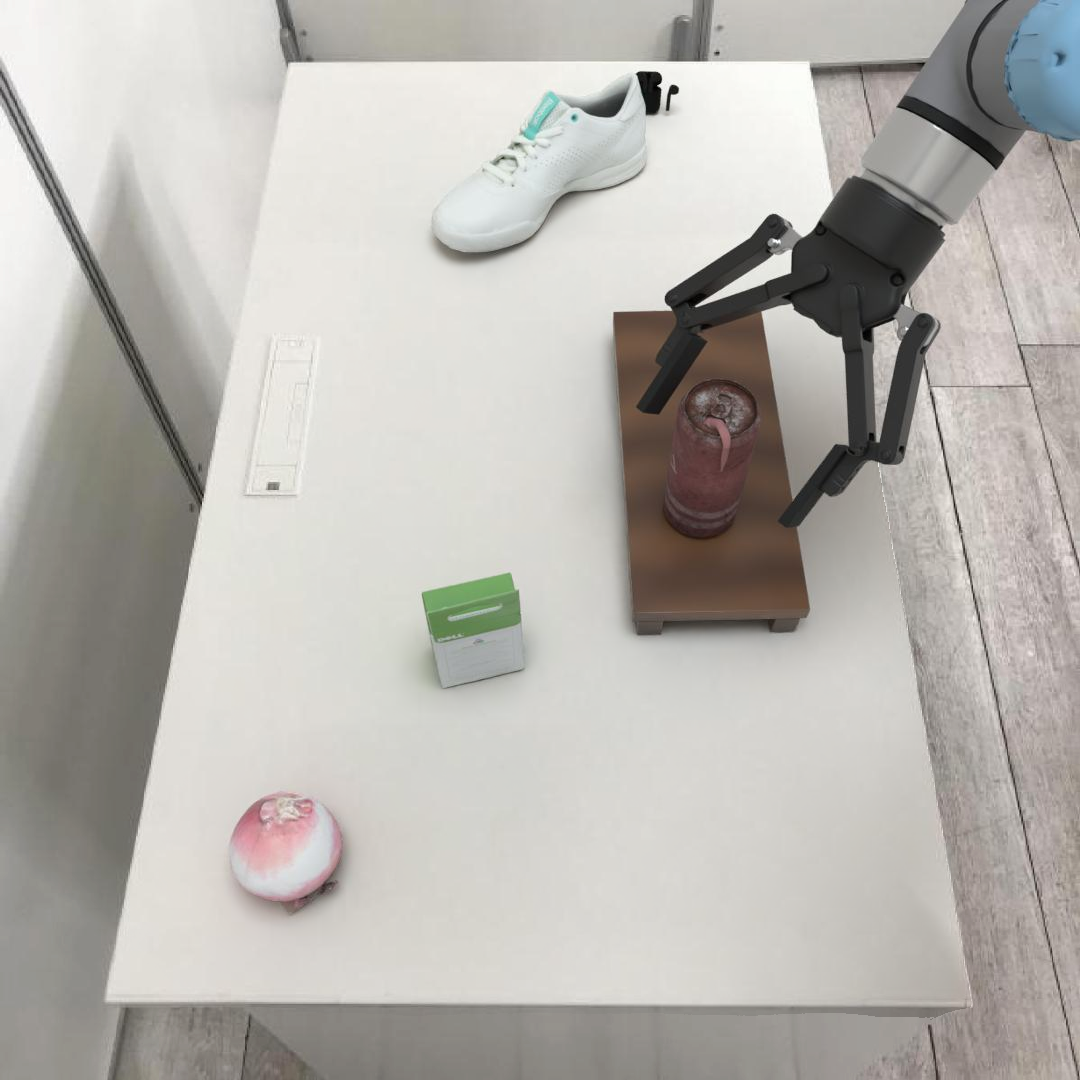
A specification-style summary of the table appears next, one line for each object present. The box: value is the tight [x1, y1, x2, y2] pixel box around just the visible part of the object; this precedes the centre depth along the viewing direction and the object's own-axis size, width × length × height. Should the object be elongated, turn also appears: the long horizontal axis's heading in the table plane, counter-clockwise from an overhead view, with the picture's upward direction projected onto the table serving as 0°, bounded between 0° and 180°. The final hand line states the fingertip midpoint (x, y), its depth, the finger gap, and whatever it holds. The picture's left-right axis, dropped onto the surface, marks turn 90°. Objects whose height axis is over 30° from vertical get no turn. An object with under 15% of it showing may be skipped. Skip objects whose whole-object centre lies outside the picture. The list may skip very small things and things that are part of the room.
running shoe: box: [430, 72, 647, 253], centre depth 110 cm, size 10×27×12 cm, turn 129°
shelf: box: [612, 310, 811, 636], centre depth 94 cm, size 32×14×4 cm, turn 1°
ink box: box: [421, 571, 526, 689], centre depth 81 cm, size 7×4×13 cm, turn 104°
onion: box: [228, 791, 343, 915], centre depth 76 cm, size 8×8×7 cm
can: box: [663, 378, 761, 538], centre depth 83 cm, size 6×6×14 cm
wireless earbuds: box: [635, 70, 680, 114], centre depth 120 cm, size 7×2×5 cm, turn 87°
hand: (715, 465), depth 77 cm, fingers open, 13 cm apart
